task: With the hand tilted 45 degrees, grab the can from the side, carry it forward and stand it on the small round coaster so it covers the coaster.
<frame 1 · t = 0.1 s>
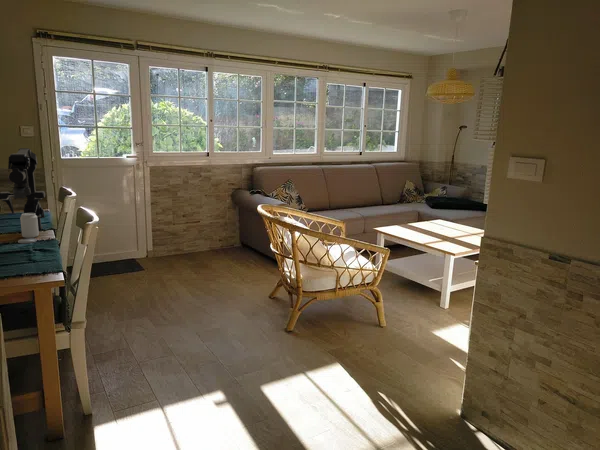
hand: (24, 212, 220), 15 cm above the table, tool pointing down, fingers open, 9 cm apart
coaster: (27, 241, 224), on the table
can: (30, 237, 233), on the table
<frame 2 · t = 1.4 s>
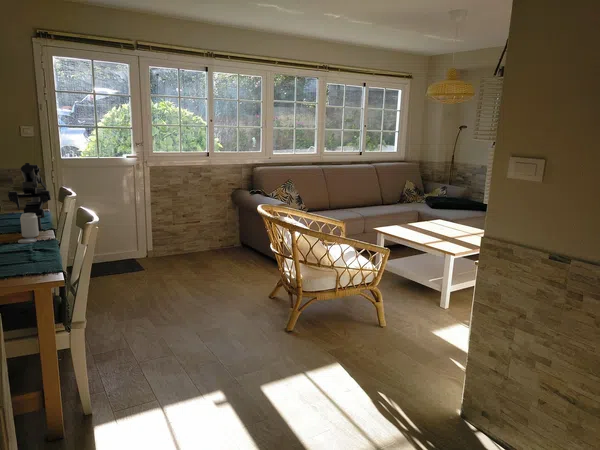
hand: (29, 209, 233), 13 cm above the table, tool tilted 45°, fingers open, 9 cm apart
nothing on the table moved.
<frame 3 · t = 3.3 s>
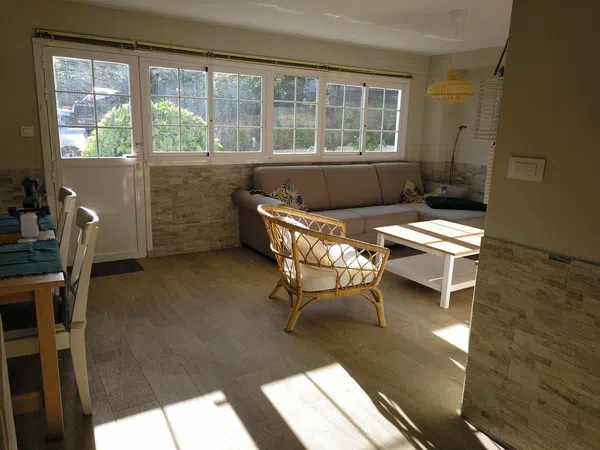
hand: (29, 224, 230), 7 cm above the table, tool tilted 45°, fingers closed on can, 7 cm apart
can: (30, 236, 233), on the table, touching gripper
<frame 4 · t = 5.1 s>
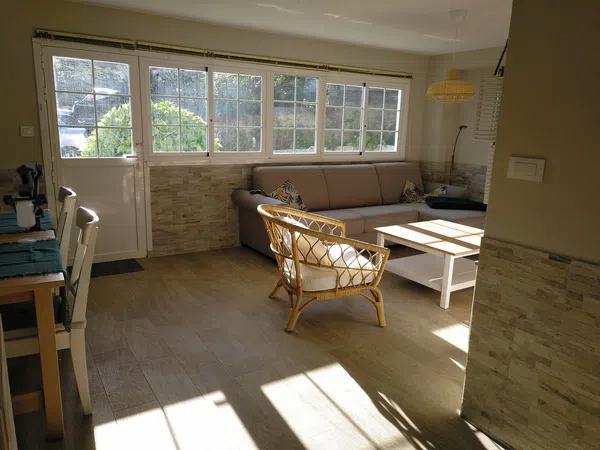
hand: (25, 213, 222), 14 cm above the table, tool tilted 45°, fingers closed on can, 7 cm apart
can: (26, 226, 224), point 7 cm above the table, touching gripper
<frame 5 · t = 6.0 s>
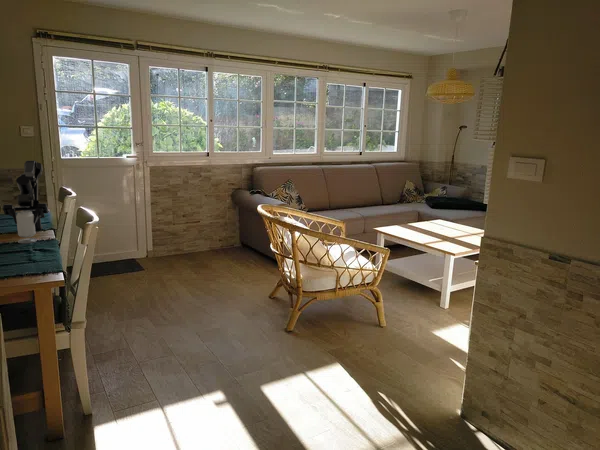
hand: (25, 223, 221), 9 cm above the table, tool tilted 45°, fingers closed on can, 7 cm apart
can: (27, 236, 224), point 3 cm above the table, touching gripper
when the fingers open (8 cm above the table, at t = 6.9 s): can stays where it is, resting on coaster.
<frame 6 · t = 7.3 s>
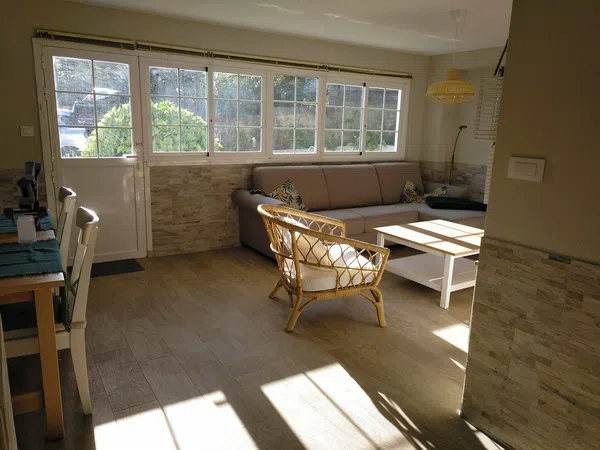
hand: (25, 226, 221), 8 cm above the table, tool tilted 45°, fingers open, 9 cm apart
can: (27, 240, 224), point 1 cm above the table, touching coaster
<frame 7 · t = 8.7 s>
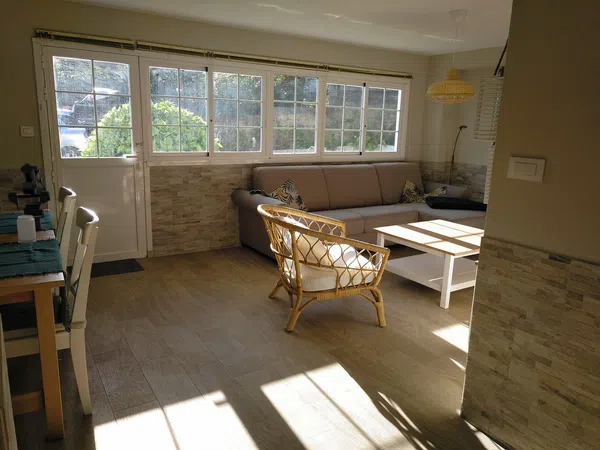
hand: (28, 209, 232), 13 cm above the table, tool tilted 45°, fingers open, 9 cm apart
nothing on the table moved.
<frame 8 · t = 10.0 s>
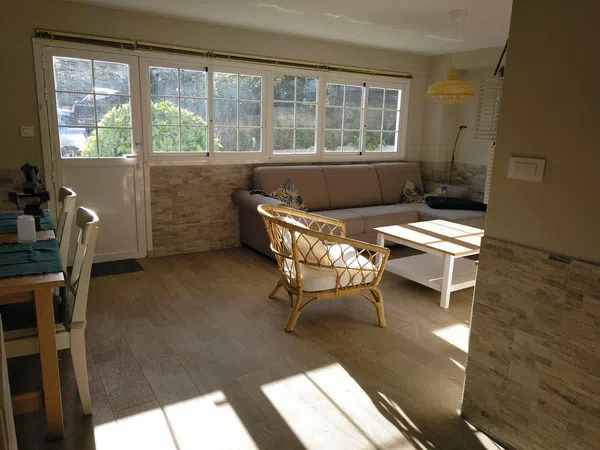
hand: (28, 209, 232), 14 cm above the table, tool tilted 45°, fingers open, 9 cm apart
nothing on the table moved.
at the end: can 0.2 cm from the coaster (horizontally); can tilted 0°; the gripper is holding nothing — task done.
